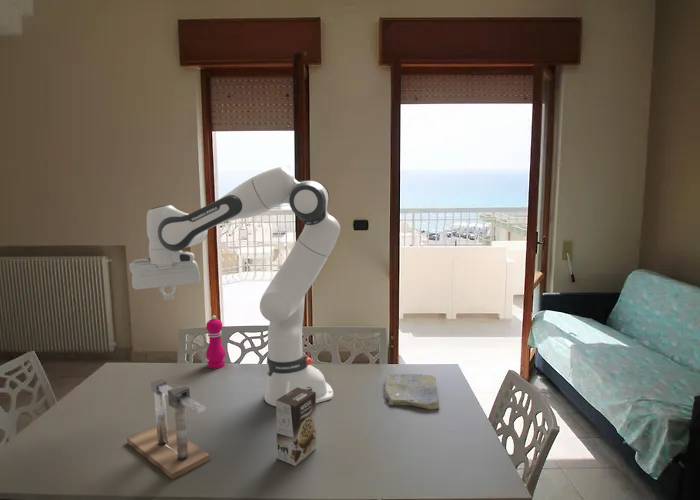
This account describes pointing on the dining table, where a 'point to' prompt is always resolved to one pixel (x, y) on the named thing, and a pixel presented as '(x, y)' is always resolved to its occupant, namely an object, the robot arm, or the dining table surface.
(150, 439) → the wood and metal stand
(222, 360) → the pepper mill
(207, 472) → the dining table surface
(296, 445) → the coffee box
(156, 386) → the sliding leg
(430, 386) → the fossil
